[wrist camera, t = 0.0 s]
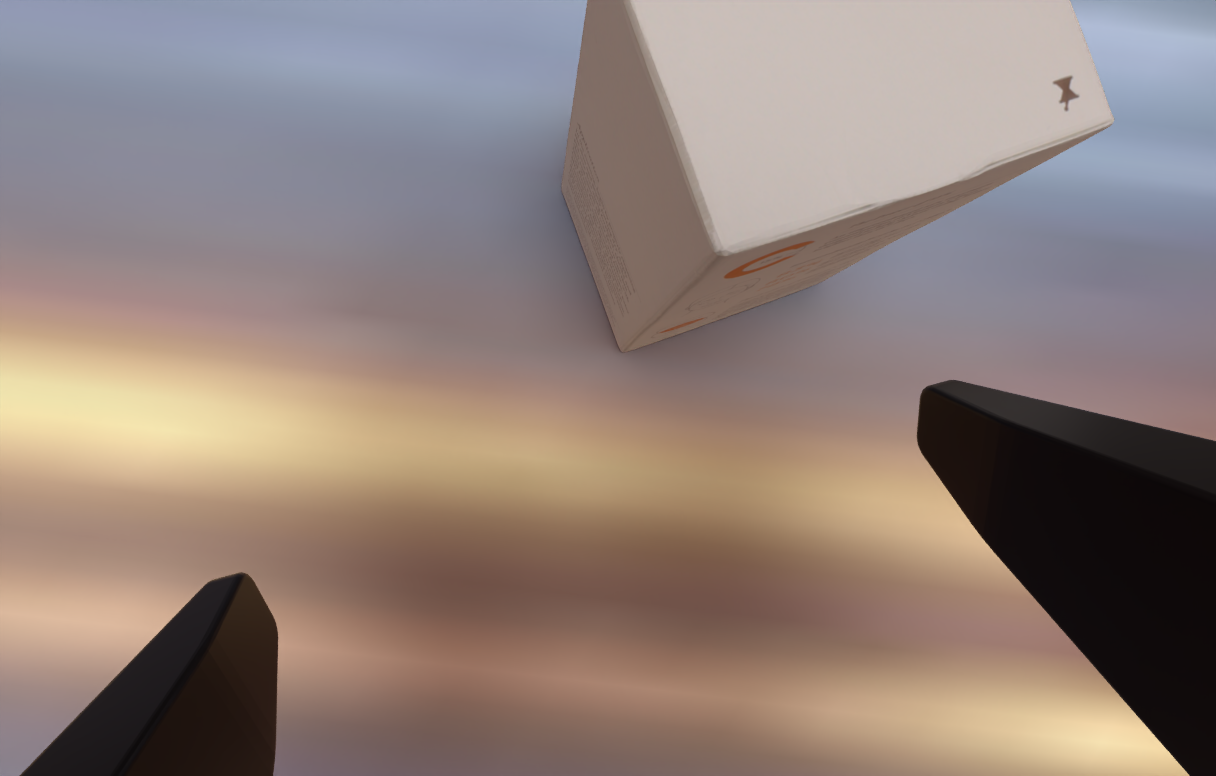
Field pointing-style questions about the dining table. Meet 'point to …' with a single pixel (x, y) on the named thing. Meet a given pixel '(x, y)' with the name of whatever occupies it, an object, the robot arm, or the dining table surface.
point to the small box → (800, 138)
